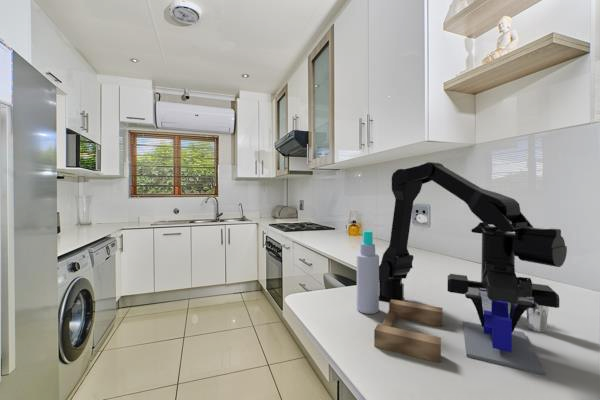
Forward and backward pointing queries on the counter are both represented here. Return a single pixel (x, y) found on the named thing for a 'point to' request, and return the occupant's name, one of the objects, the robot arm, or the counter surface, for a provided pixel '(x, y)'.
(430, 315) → the walnut holder
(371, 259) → the spray bottle
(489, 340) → the rubber mat
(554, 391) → the counter surface
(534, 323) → the milkshake
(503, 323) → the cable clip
